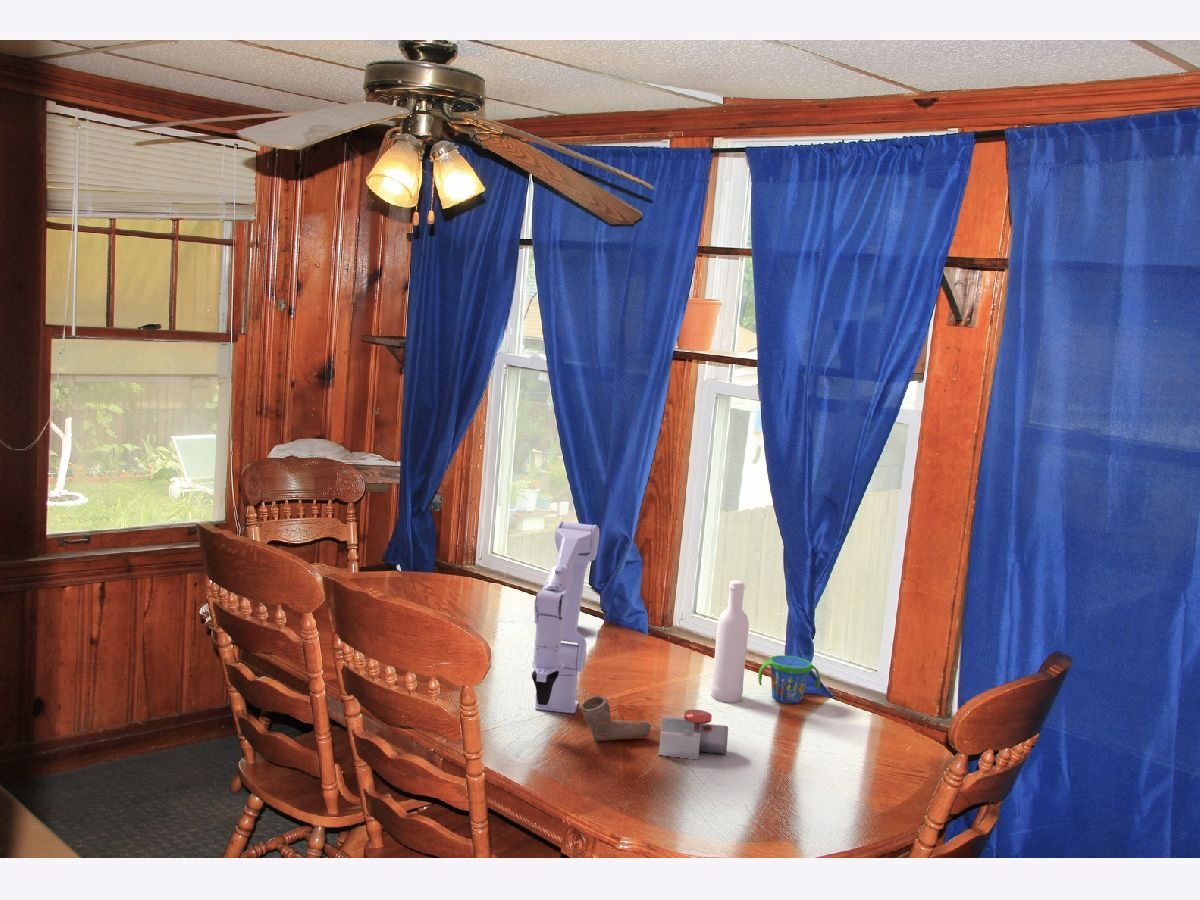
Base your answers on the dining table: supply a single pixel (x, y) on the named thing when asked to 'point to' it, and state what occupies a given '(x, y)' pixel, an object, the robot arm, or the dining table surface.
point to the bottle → (731, 648)
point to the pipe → (610, 722)
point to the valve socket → (691, 735)
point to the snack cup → (788, 677)
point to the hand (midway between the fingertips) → (543, 703)
